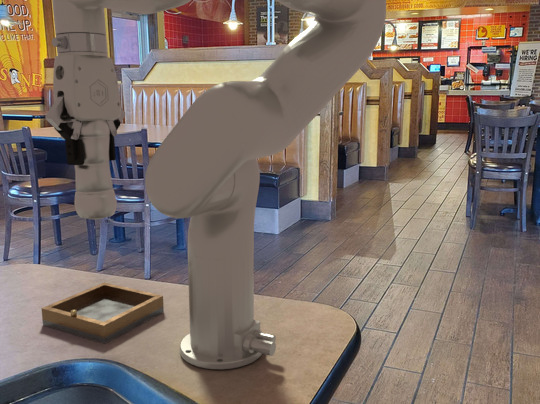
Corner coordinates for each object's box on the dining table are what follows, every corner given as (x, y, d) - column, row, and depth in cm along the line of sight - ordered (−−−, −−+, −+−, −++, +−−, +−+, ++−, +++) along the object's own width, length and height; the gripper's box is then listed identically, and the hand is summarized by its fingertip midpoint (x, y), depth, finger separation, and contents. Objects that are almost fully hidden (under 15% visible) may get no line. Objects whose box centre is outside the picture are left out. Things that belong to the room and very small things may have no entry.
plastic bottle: (110, 222, 86) (100, 95, 82) (69, 223, 86) (56, 96, 82) (123, 214, 92) (113, 95, 88) (84, 215, 92) (73, 97, 88)
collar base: (163, 311, 94) (162, 291, 94) (104, 343, 82) (103, 320, 82) (105, 297, 101) (104, 278, 100) (42, 325, 89) (41, 303, 88)
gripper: (52, 41, 75) (65, 169, 78) (138, 50, 89) (146, 157, 93) (18, 45, 78) (31, 167, 82) (105, 53, 93) (114, 156, 96)
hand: (92, 161), depth 87 cm, fingers closed on plastic bottle, 6 cm apart
